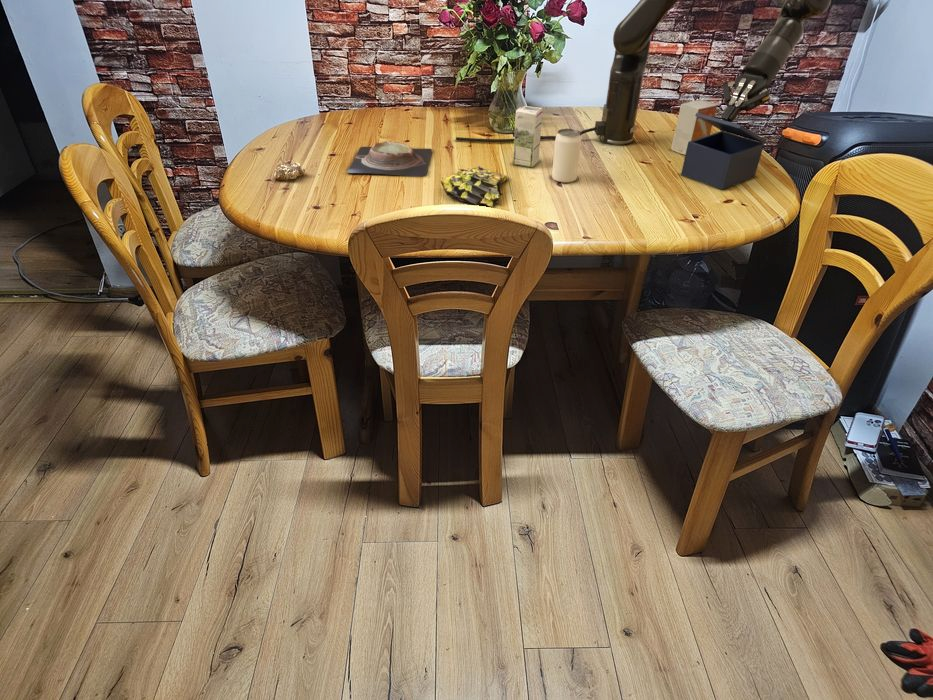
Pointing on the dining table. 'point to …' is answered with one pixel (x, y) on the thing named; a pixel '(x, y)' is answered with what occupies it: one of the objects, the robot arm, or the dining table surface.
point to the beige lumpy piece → (288, 171)
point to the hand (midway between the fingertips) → (725, 121)
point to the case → (722, 159)
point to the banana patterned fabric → (474, 186)
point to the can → (566, 155)
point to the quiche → (391, 160)
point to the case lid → (730, 127)
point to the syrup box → (527, 136)
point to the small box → (692, 124)
